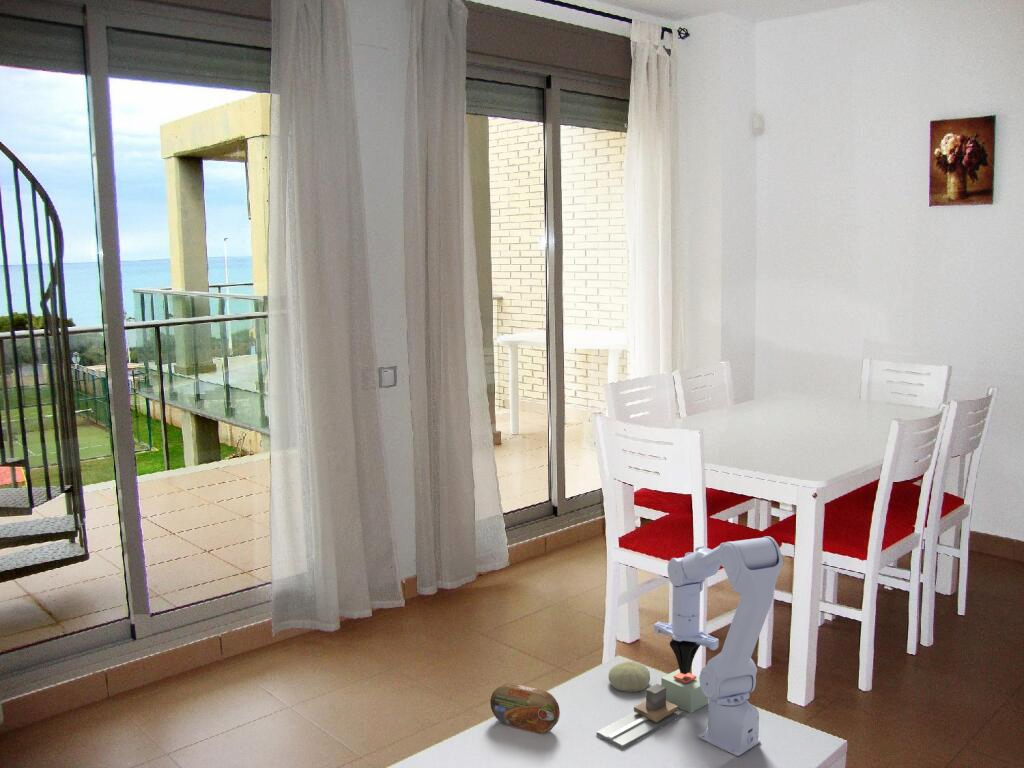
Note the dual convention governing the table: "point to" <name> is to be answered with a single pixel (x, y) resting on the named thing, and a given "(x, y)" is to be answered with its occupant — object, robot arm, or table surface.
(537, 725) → the tin
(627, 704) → the table surface
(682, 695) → the pale green block
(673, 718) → the track
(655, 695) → the carriage
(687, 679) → the button
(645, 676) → the sea urchin shell
